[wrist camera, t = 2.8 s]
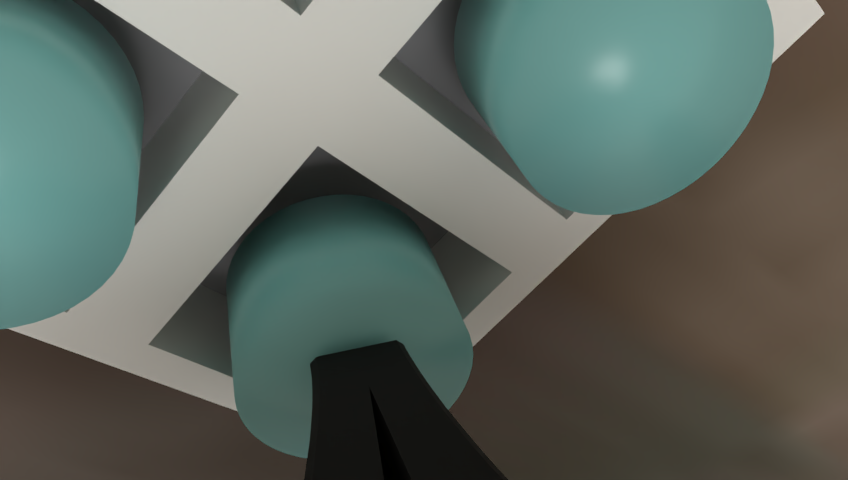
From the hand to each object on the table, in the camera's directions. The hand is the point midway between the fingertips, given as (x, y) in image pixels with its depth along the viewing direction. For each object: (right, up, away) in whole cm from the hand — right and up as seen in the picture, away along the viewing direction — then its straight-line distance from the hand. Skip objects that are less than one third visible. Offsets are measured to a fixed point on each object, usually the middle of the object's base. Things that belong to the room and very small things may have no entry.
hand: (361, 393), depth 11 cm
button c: (+3, +6, 0) cm, 7 cm away
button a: (-1, +2, +2) cm, 3 cm away
